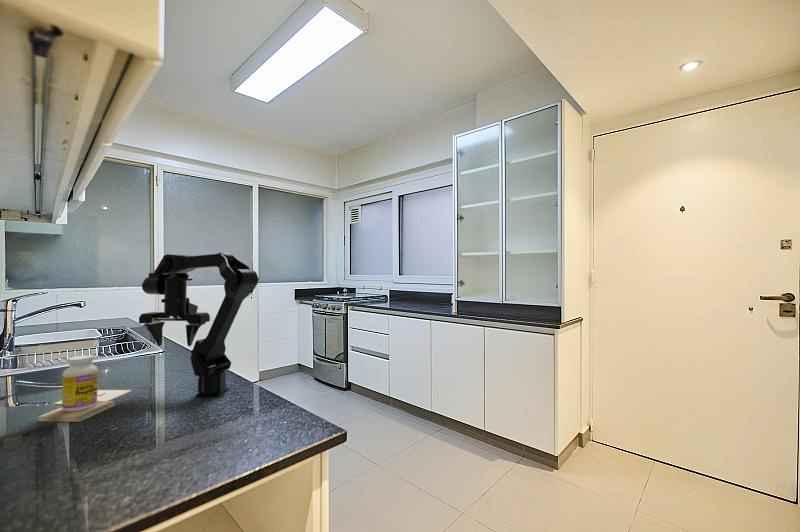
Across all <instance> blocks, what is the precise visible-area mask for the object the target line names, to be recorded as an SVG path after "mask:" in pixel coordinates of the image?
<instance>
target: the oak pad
mask: <svg viewBox="0 0 800 532" xmlns="http://www.w3.org/2000/svg"><path fill="white" fill-rule="evenodd" d="M115 404H116V403H115V401H114V400H110V401H97V403H96V405H95V406H93V407H91V408H88V409H85V410H81V411H75V412H66V411H63V410H62V406H61V407H58V408H57V409H54V410H51V411H49V412H47V413H44V414H42V415H39V416H38V422H55V423H56V422H57V423H58V422H59V423H60V422H61V423H62V422H65V423H69V422H71V423H72V422H73V423H74V422H76V423H77V422H79V423H80V422H82V421H84V420H86V419H89V418H91V417H93V416H96V415H97V414H100V413H101V412H103V411H106V410H108V409H110V408H112V407H115Z"/></svg>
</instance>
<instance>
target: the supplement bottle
mask: <svg viewBox="0 0 800 532" xmlns="http://www.w3.org/2000/svg"><path fill="white" fill-rule="evenodd" d="M93 361H94V355H91V354H87V355H86V354H85V355H78V356H71V357H69V358H68V362H67V363H68V365H69V367H67V368H66V369H65V370H64V371H63V373H62V393H61V400H62V404H61V407H62V410H63V411H66V412H75V411H81V410H85V409H88V408H91V407H93V406H95V405H96V403H97V390H98V379H99V377H98V375H99V368H98V366H97V365H95V364H93Z"/></svg>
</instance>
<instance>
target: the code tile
mask: <svg viewBox="0 0 800 532" xmlns="http://www.w3.org/2000/svg"><path fill="white" fill-rule="evenodd" d="M132 391H133V389H97V401H113V400H114V399H117V398H119V397H121V396H123V395H126V394H128V393H131V392H132ZM52 405H62V399H61V400H58V401H57V402H53V404H52Z"/></svg>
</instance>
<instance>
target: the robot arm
mask: <svg viewBox="0 0 800 532" xmlns="http://www.w3.org/2000/svg"><path fill="white" fill-rule="evenodd" d="M204 268H205V269H207V268H208V269H209V268H218V269H219V275H220V276H221V277H222V279H224V284H223V288H224V292H225V294H224V295H225V296H224V297H223V300H222V302H221V304H220V307H219V308H218V311H217V313H216V316H215V317H214V320H213V322H212V325H211V327H210V329H209V331H208V333H207V336H206V337H205V338H201V339H197V340H196V341H195V343H194V339H195V337H196V335H197V333H198V331H199V329H200V328H201V327H202V326H204V325H206V323H208V322H211V315H210V314H209V312H198V309H199V306H198V305H196V304H194V303H191V301H190V298H189V297H187V289H188V288H187V285H188V283H187V281H188V282H189V281H190V282H191V281H192V280H193V278H192V276H190V275H189V274H188V273H190V272H193V271H195V270H197V269H204ZM259 280H260V279H259V277H258V274H257V271H255V270H254V269H252V268H251V267H250V266H249V265H247V264H246V263H244V262H243V261H241V260H240V259H238V258H237V256H235V254H233V253H230V252H217V253H213V254H211V253H209V254H202V255H186V254H170V253H169V254H167V253H166V254H165V255H163V256H162V258H161V260H160V261H159V263H158V265H157V267H156V268H155V270H153V272H149V273H148V276H147V277H146V278H145V279H144V280H143V282H142V283H141V288H142V291H143V292H144V293H146V294H147V295H159V296H162V295H163V296H164V298H162V299H161V303H164V304H163V305H164V309H163V310H164V311H163V312H162V311H149V312H145V313H141V314H140V315H139V317H138V324H143V325H142V326H143V327H145V328H146V329H147V331H148V332H149V333H150V335H151V336H152V338H153V339H154V341H155V343H156V345H157V346H158V347H162V345H163V328H164V325H165V324H166V322H167V321H168V322H170V321H171V322H179V321H180V322H187V323H188V324H185V330H186V331H185V332H186V343H187V347H192V345H193V343H194V345H193V349H191V351H190V353H191V355H190V361H191V362H190V363H191V366H192V370H193V373H194V376H195V377H196V376H197V377H198V379H197V392H198V393H196V394H195V397H203V398H204V397H206V398H207V397H214V398H215V397H219V396H220V395H222V394H224V393H225V392H227V391H228V390H229V387H227V385H226V384H227V382H226V381H227V380H226V379H227V378H226V377H227V370H230V368H231V365H232V362H231V360H230V359H229V357H227V355H226V354H225V353H226V344H225V341H226V338H227V336H228V334H229V332H230V330H231V328H232V325H233V323H234V321H235V318H236V316H237V314H238V312H239V310H240V308H241V306H242V303H243V301H244V300H245V299H246V298H247V297H248V296H250V294H252V293H253V291H254V290H255V289H256V287H257V285H258V284H259ZM165 321H166V322H165Z"/></svg>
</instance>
